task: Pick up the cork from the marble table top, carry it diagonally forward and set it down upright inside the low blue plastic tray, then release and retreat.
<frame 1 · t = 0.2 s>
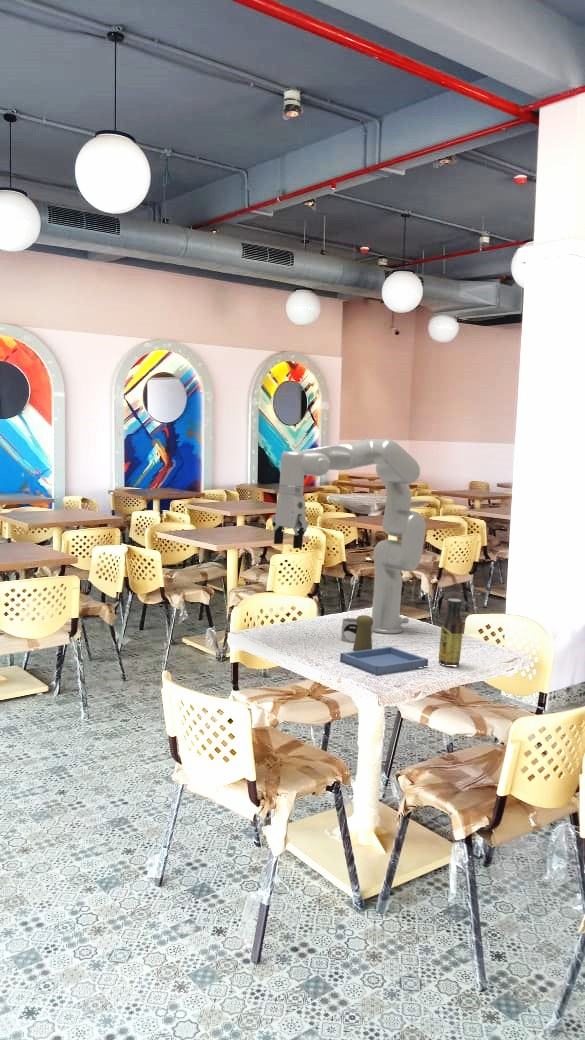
hand: (287, 545, 257), 31 cm above the table, tool pointing down, fingers open, 9 cm apart
mug: (356, 641, 268), on the table
tray: (383, 664, 240), on the table
sauce bottle: (448, 665, 244), on the table
cork: (362, 651, 255), on the table
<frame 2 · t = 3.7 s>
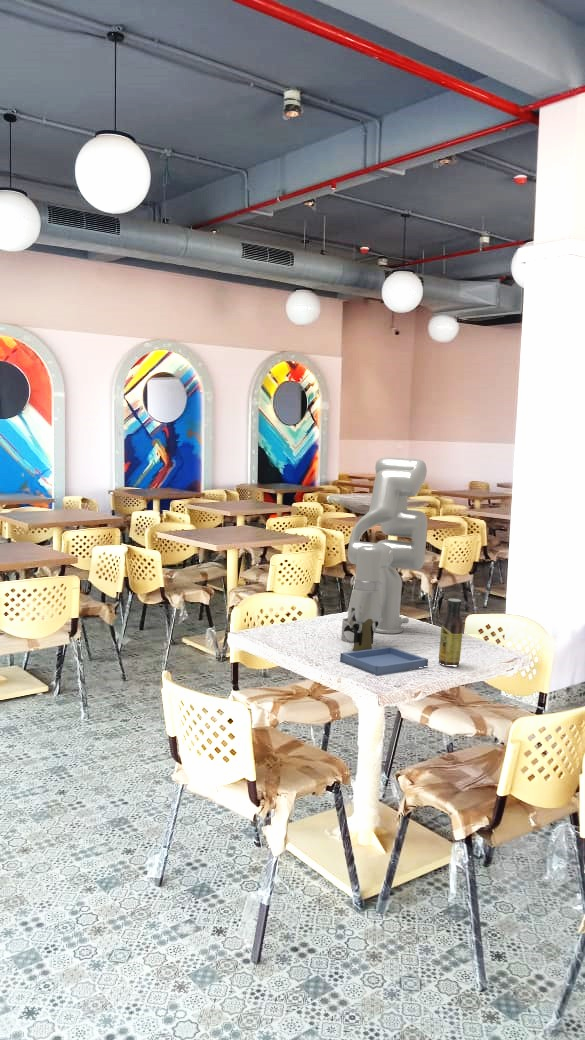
hand: (363, 643, 255), 2 cm above the table, tool pointing down, fingers closed on cork, 3 cm apart
cork: (362, 651, 255), on the table, touching gripper
everything else where it was.
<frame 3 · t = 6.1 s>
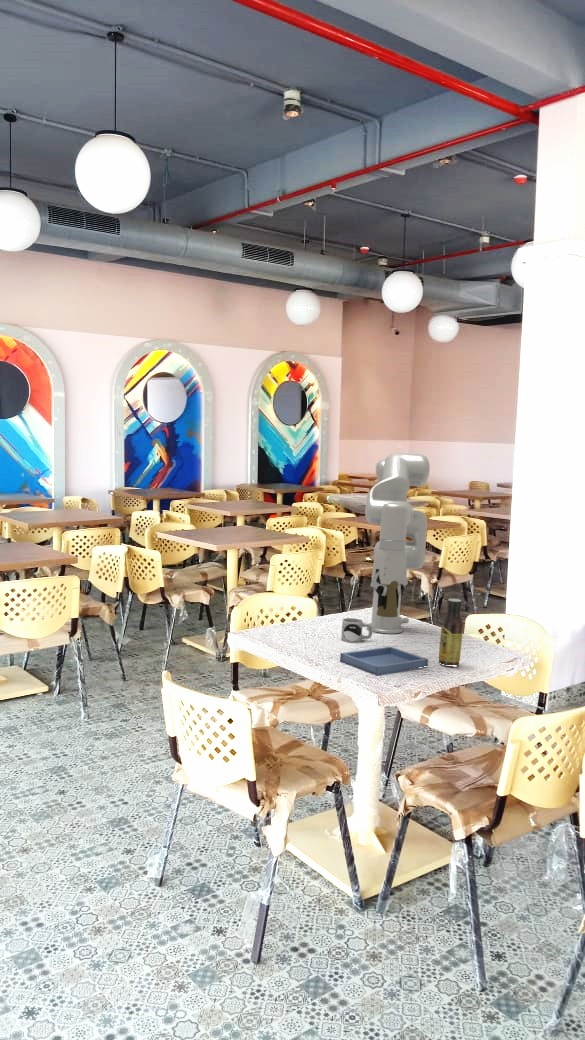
hand: (387, 607, 239), 17 cm above the table, tool pointing down, fingers closed on cork, 3 cm apart
cork: (386, 615, 239), point 14 cm above the table, touching gripper
everything else where it was.
when the fingers open (4 cm above the table, at t = 8.7 s): cork drops 1 cm, resting on tray.
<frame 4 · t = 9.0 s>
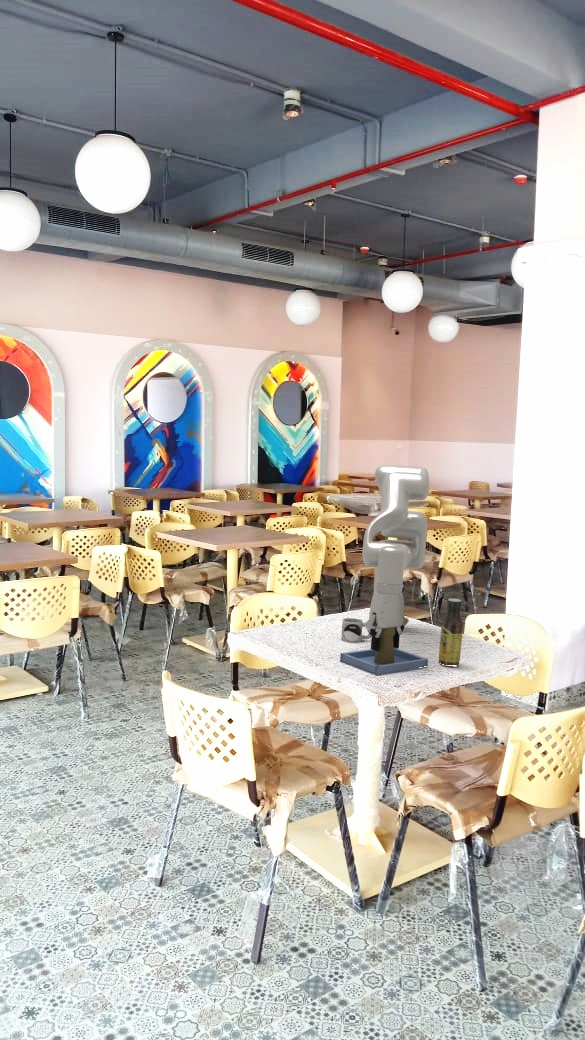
hand: (384, 648, 240), 5 cm above the table, tool pointing down, fingers open, 7 cm apart
cork: (384, 662, 241), resting on tray
everything else where it was.
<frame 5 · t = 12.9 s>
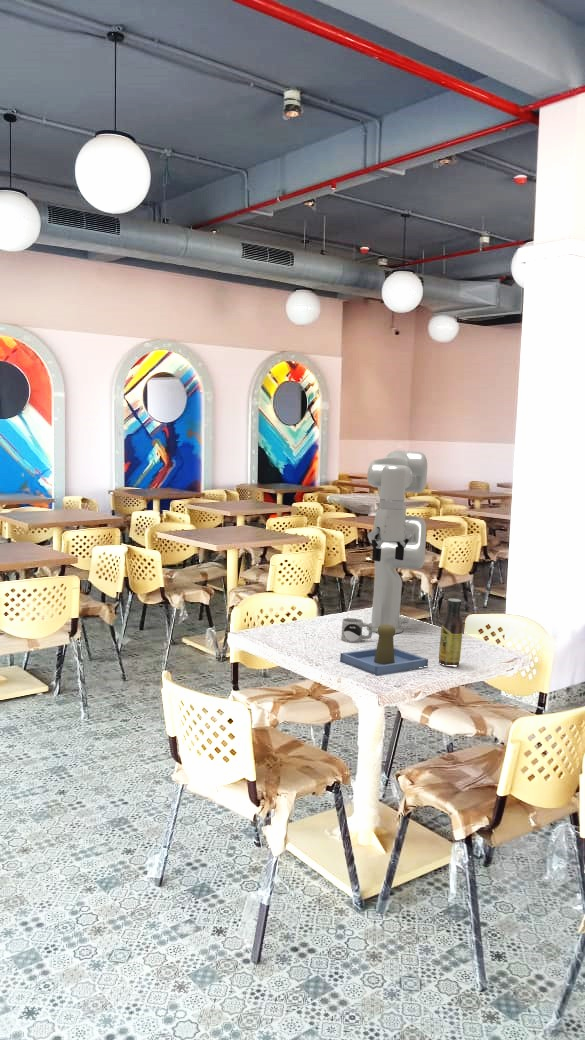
hand: (387, 560, 256), 28 cm above the table, tool pointing down, fingers open, 9 cm apart
nothing on the table moved.
at the end: cork inside the target area on the tray (0.3 cm from its centre), point 0.4 cm above the tray's base; cork tilted 0°; the gripper is holding nothing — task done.
